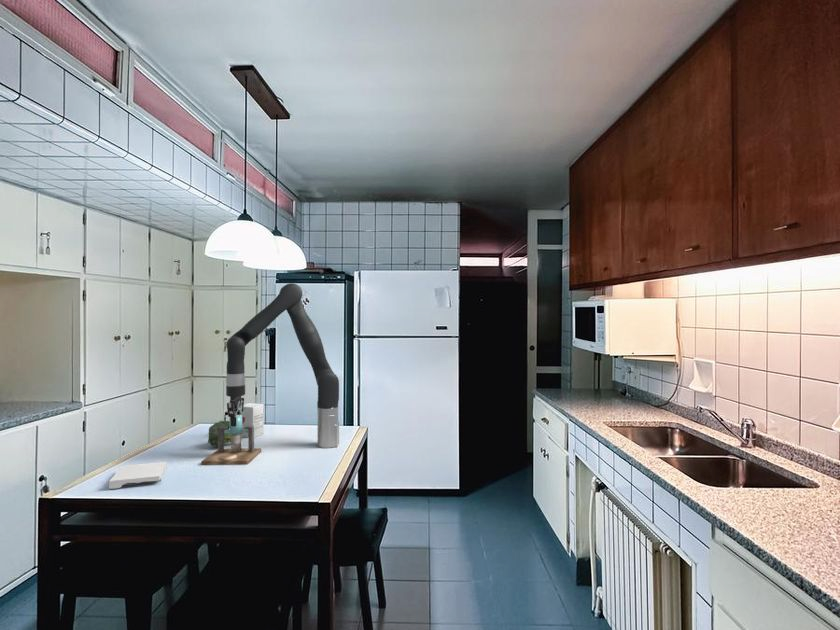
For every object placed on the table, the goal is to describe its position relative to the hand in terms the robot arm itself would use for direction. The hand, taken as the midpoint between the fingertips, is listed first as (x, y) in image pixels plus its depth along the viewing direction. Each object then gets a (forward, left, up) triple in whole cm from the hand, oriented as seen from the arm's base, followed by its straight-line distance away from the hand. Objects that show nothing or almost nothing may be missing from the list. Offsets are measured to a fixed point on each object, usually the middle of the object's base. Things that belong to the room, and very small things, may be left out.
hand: (235, 424), depth 205 cm
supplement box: (+5, -34, -13) cm, 37 cm away
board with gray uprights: (0, +4, -13) cm, 13 cm away
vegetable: (+11, -15, -13) cm, 23 cm away
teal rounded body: (0, 0, -3) cm, 3 cm away
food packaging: (+25, +28, -14) cm, 40 cm away
